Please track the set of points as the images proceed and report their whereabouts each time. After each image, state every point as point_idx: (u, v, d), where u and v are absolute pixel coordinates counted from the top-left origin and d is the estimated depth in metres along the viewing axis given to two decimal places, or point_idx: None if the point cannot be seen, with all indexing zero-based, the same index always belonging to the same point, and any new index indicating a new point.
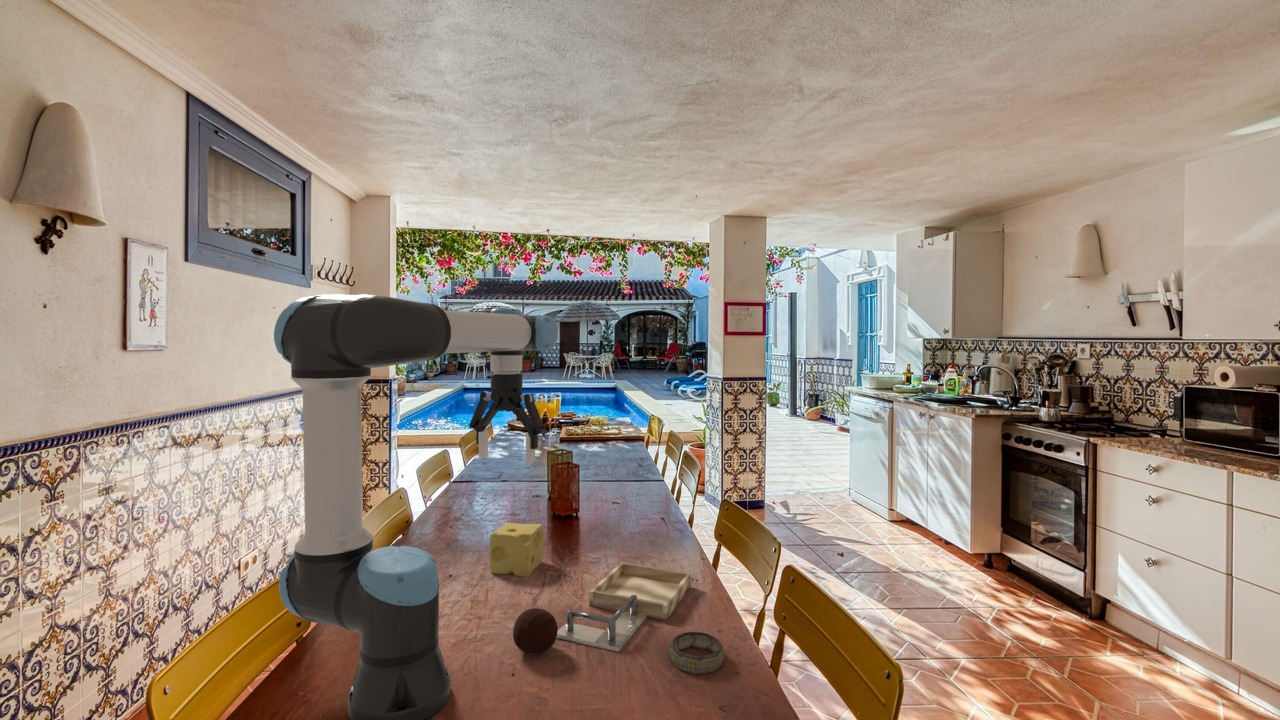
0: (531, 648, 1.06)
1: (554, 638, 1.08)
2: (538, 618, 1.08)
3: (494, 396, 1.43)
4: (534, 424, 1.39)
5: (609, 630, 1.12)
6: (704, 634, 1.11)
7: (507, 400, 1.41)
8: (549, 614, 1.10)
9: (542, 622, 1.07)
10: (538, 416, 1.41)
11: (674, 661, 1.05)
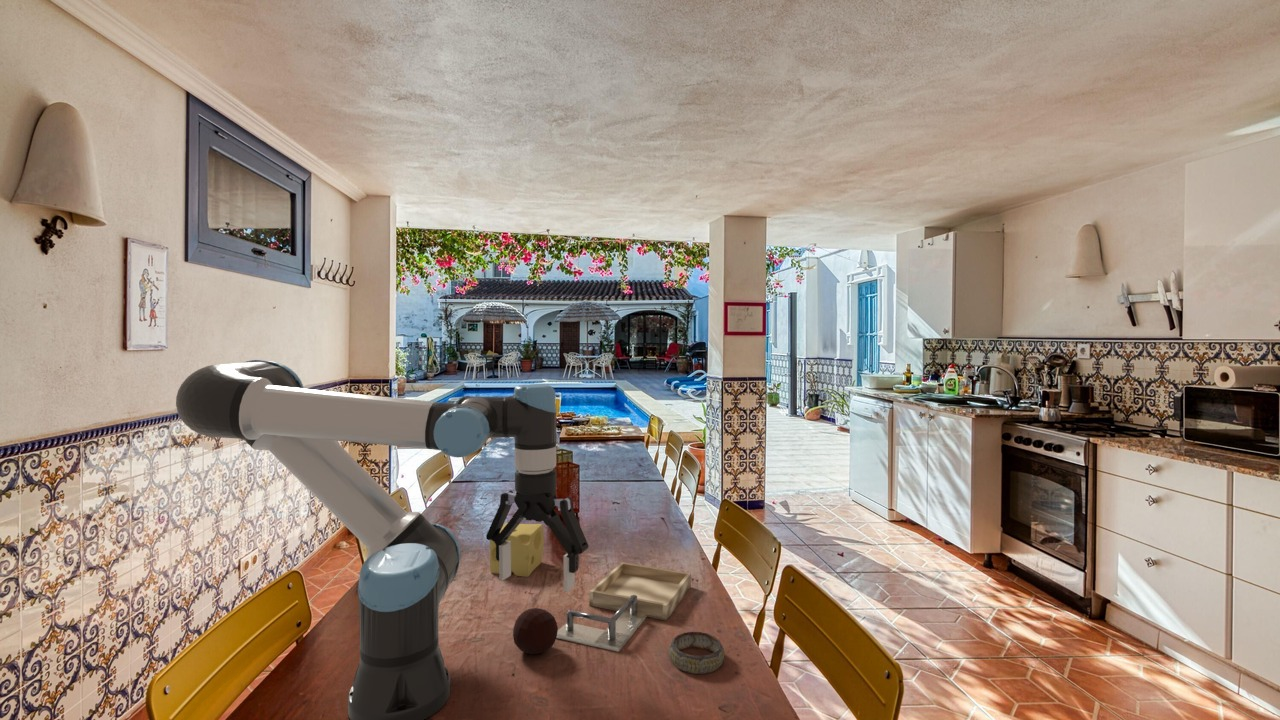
0: (531, 648, 1.06)
1: (554, 638, 1.08)
2: (538, 618, 1.08)
3: (519, 500, 1.09)
4: (574, 541, 1.05)
5: (609, 630, 1.12)
6: (704, 634, 1.11)
7: (537, 508, 1.06)
8: (549, 614, 1.10)
9: (542, 622, 1.07)
10: (579, 529, 1.06)
11: (674, 661, 1.05)
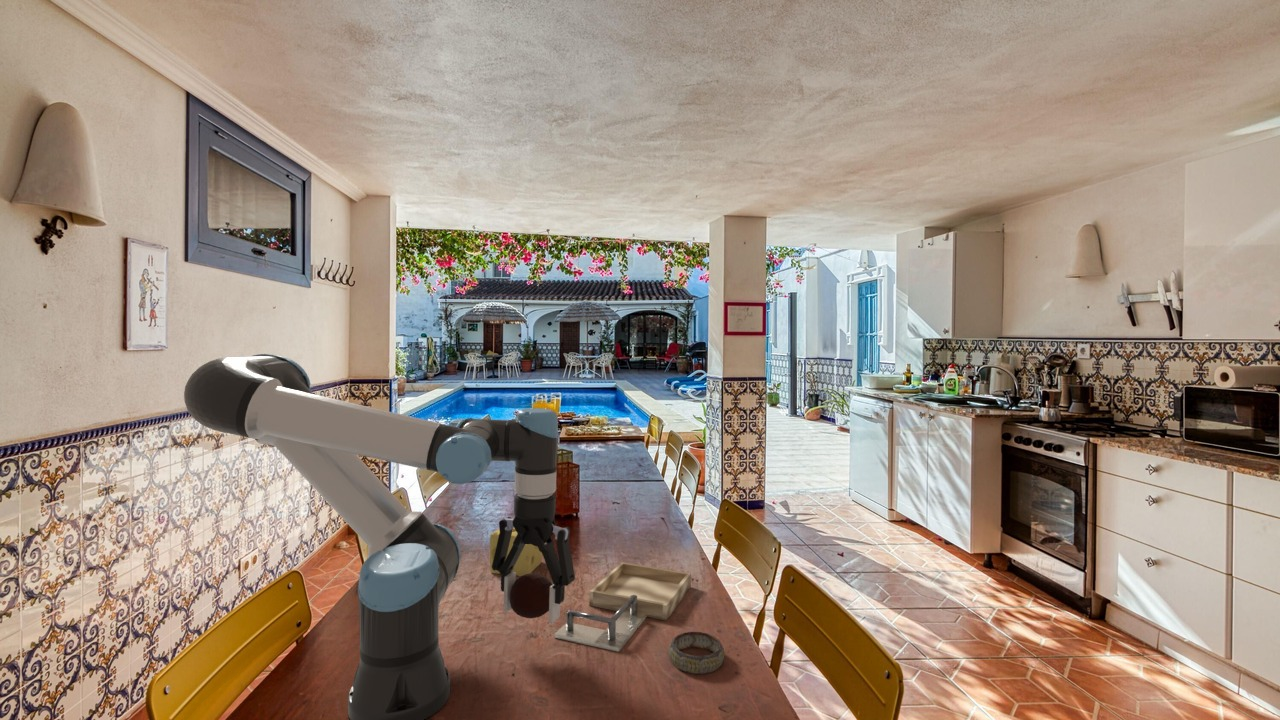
0: (527, 612, 1.06)
1: None
2: (535, 582, 1.07)
3: (518, 524, 1.09)
4: (563, 572, 1.06)
5: (609, 630, 1.12)
6: (704, 634, 1.11)
7: (535, 533, 1.07)
8: (546, 579, 1.10)
9: (539, 586, 1.07)
10: (570, 560, 1.07)
11: (674, 661, 1.05)
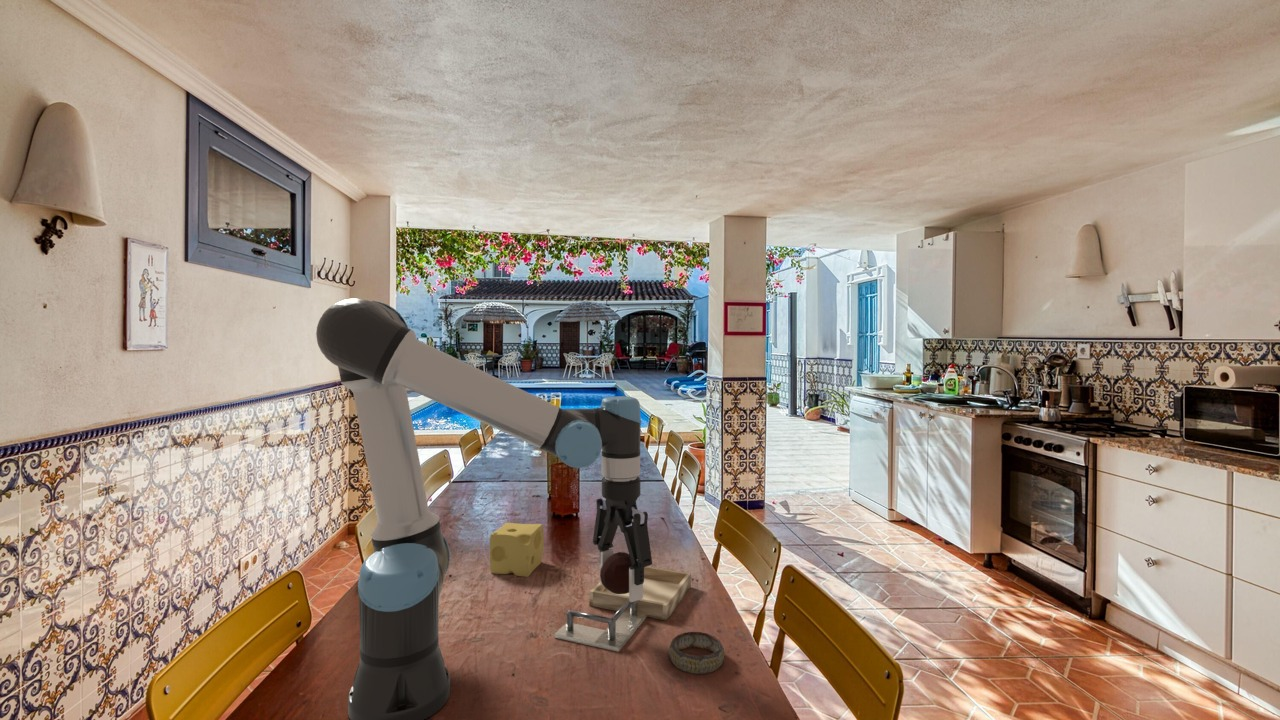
0: (610, 586, 1.13)
1: None
2: (619, 560, 1.13)
3: (608, 504, 1.16)
4: (637, 554, 1.09)
5: (609, 630, 1.12)
6: (704, 634, 1.11)
7: (617, 513, 1.13)
8: None
9: (621, 564, 1.13)
10: (646, 544, 1.10)
11: (674, 661, 1.05)
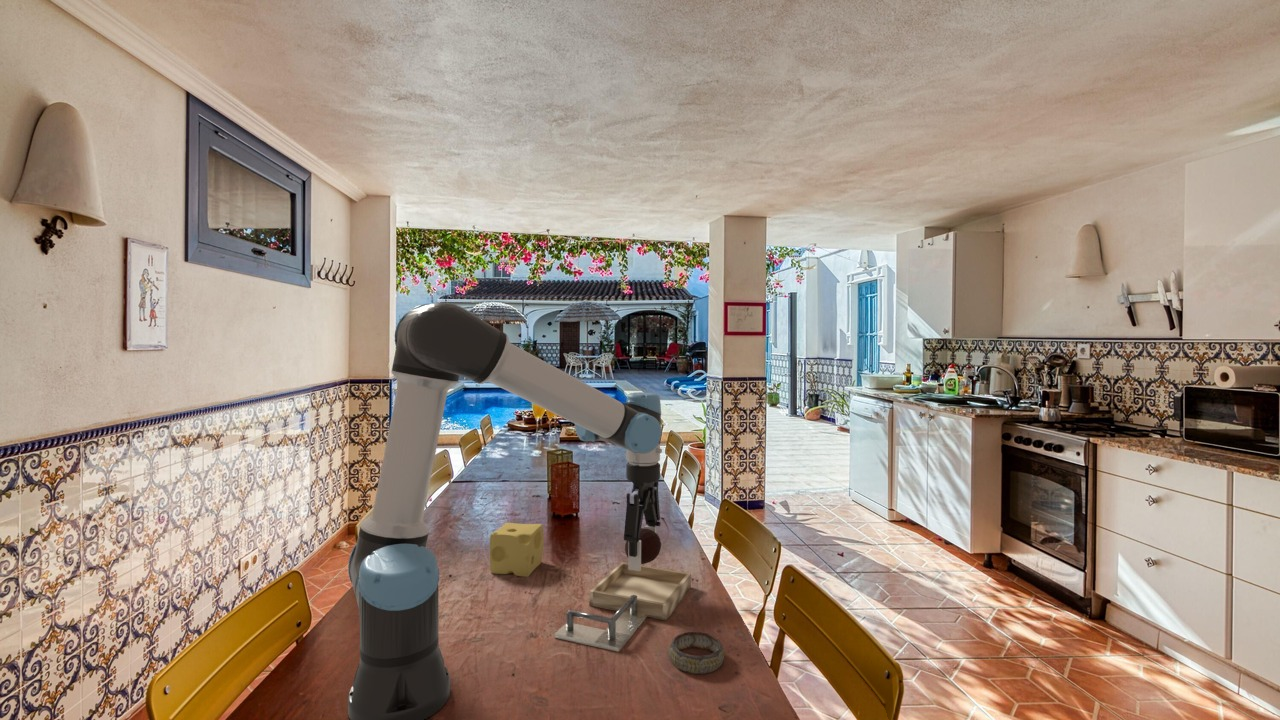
0: None
1: None
2: None
3: None
4: None
5: (609, 630, 1.12)
6: (704, 634, 1.11)
7: None
8: (644, 537, 1.30)
9: None
10: (632, 522, 1.25)
11: (674, 661, 1.05)
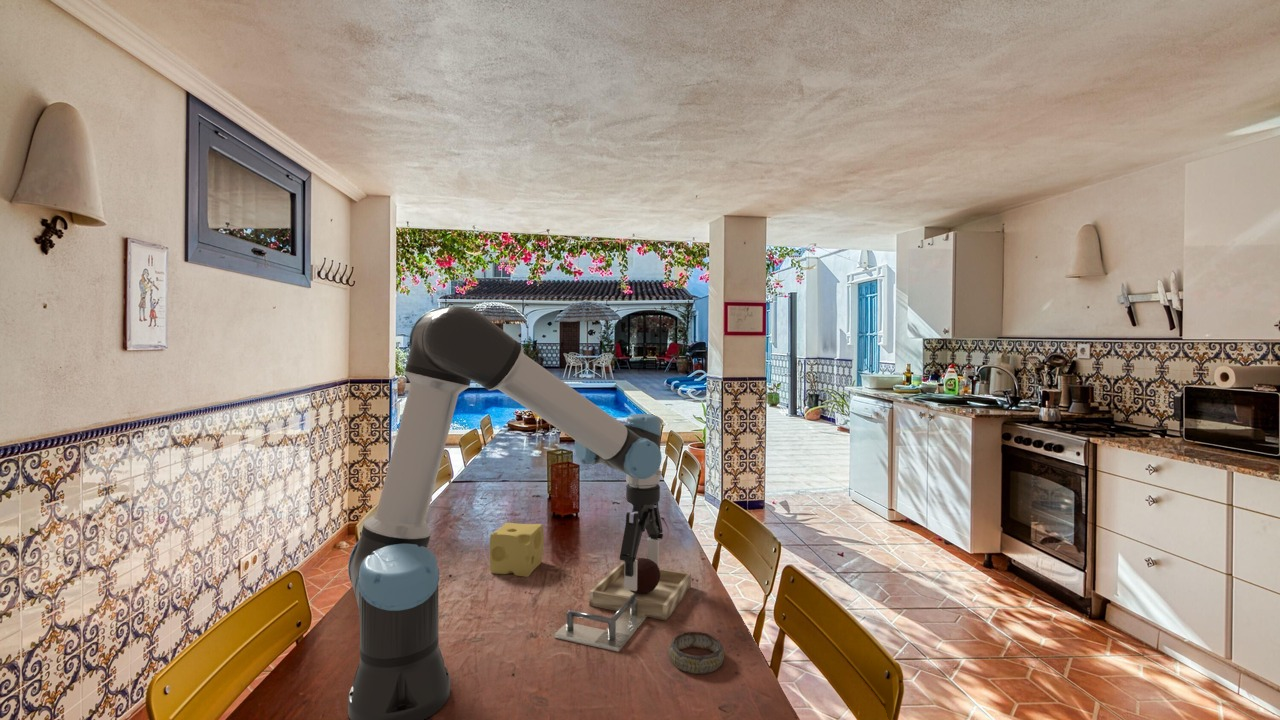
0: None
1: None
2: None
3: None
4: None
5: (609, 630, 1.12)
6: (704, 634, 1.11)
7: None
8: (643, 567, 1.30)
9: None
10: (630, 541, 1.24)
11: (674, 661, 1.05)
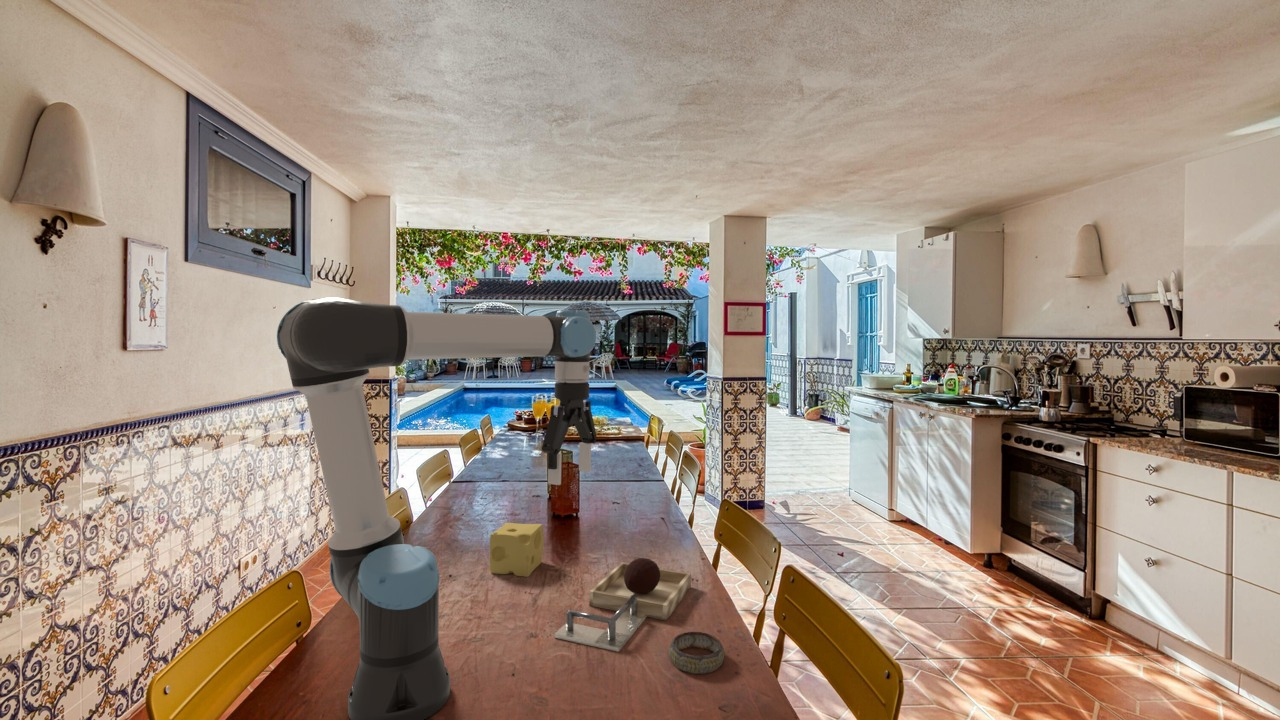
0: None
1: (631, 584, 1.29)
2: (633, 563, 1.32)
3: None
4: None
5: (609, 630, 1.12)
6: (704, 634, 1.11)
7: None
8: (643, 567, 1.30)
9: (631, 566, 1.31)
10: (553, 432, 1.22)
11: (674, 661, 1.05)
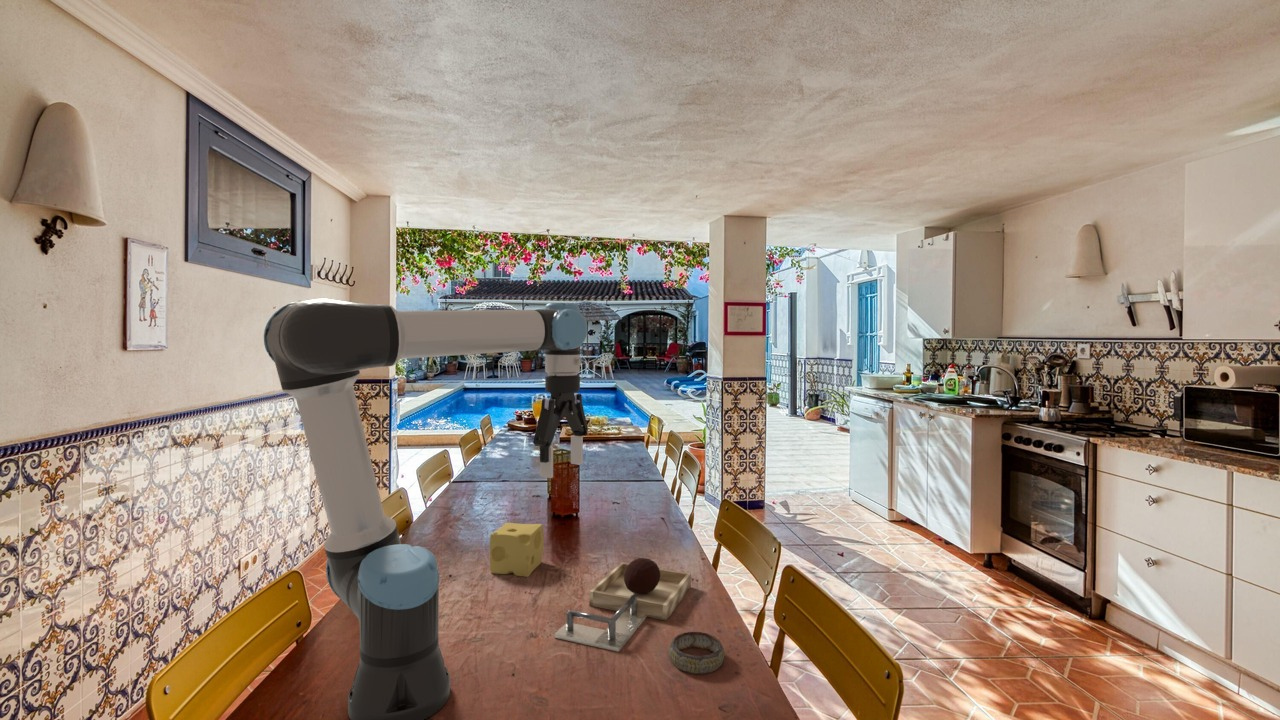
0: None
1: (631, 584, 1.29)
2: (633, 563, 1.32)
3: None
4: None
5: (609, 630, 1.12)
6: (704, 634, 1.11)
7: None
8: (643, 567, 1.30)
9: (631, 566, 1.31)
10: (544, 426, 1.22)
11: (674, 661, 1.05)
